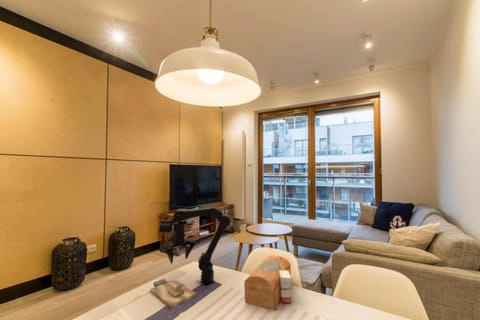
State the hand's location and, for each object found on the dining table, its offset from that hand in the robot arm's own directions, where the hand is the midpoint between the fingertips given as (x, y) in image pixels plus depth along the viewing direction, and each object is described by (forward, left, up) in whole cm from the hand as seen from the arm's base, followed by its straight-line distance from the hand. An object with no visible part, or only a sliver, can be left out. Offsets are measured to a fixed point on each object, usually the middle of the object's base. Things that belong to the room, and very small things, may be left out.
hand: (179, 261), depth 128 cm
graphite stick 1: (+8, -5, -11) cm, 15 cm away
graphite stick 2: (+8, -3, -11) cm, 14 cm away
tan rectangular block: (+8, +10, -10) cm, 17 cm away
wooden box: (-28, +41, -12) cm, 51 cm away
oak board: (+8, +8, -12) cm, 16 cm away
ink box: (-27, +51, -12) cm, 59 cm away
